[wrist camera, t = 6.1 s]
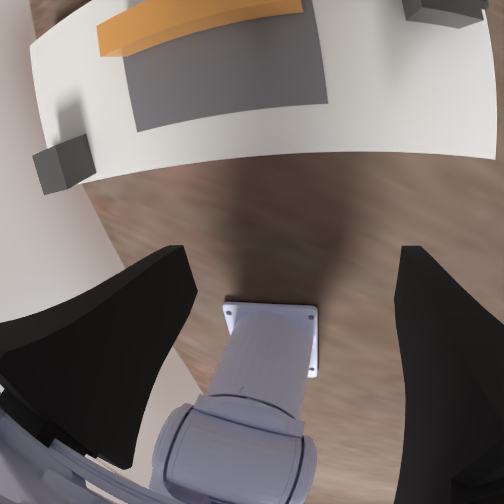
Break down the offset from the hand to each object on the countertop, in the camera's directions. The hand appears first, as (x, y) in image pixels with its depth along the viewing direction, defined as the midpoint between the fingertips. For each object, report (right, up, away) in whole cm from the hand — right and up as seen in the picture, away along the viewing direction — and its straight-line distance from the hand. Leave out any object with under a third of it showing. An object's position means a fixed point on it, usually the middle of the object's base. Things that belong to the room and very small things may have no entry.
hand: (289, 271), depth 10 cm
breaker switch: (-4, +13, +2) cm, 13 cm away
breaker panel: (-3, +13, +5) cm, 14 cm away
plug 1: (-14, +7, +9) cm, 18 cm away
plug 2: (+7, +13, -1) cm, 15 cm away
